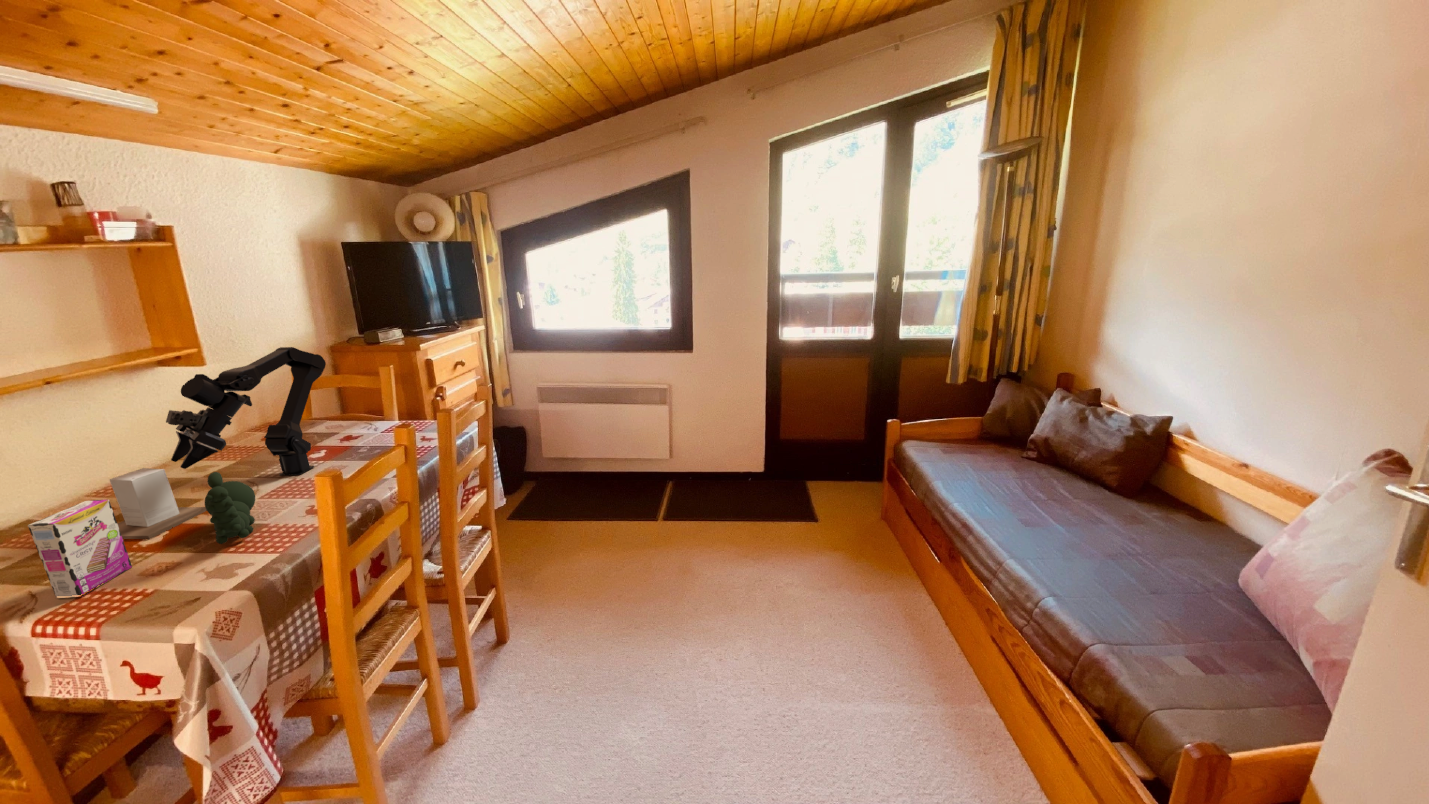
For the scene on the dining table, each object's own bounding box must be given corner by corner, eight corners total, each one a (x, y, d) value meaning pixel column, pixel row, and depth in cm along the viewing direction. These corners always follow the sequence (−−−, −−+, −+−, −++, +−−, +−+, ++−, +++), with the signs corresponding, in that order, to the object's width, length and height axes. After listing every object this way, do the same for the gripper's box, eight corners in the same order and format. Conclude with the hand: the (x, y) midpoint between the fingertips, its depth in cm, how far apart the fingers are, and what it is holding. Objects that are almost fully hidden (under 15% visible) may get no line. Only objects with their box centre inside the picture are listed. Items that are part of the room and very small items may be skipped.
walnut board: (207, 510, 145) (206, 506, 145) (149, 539, 130) (148, 535, 130) (153, 511, 145) (152, 507, 145) (89, 540, 131) (88, 536, 131)
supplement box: (181, 513, 141) (165, 468, 138) (146, 527, 134) (129, 480, 131) (159, 511, 143) (144, 467, 139) (124, 525, 136) (107, 478, 132)
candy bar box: (83, 598, 108) (52, 523, 104) (55, 600, 108) (24, 525, 103) (135, 566, 119) (110, 498, 114) (111, 568, 119) (84, 499, 114)
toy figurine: (262, 548, 128) (261, 504, 146) (240, 476, 121) (241, 439, 140) (209, 563, 122) (214, 515, 140) (182, 489, 116) (192, 448, 134)
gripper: (175, 392, 145) (131, 444, 140) (195, 402, 135) (148, 458, 129) (222, 413, 154) (181, 462, 148) (244, 423, 143) (201, 476, 138)
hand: (177, 464), depth 141 cm, fingers open, 9 cm apart
